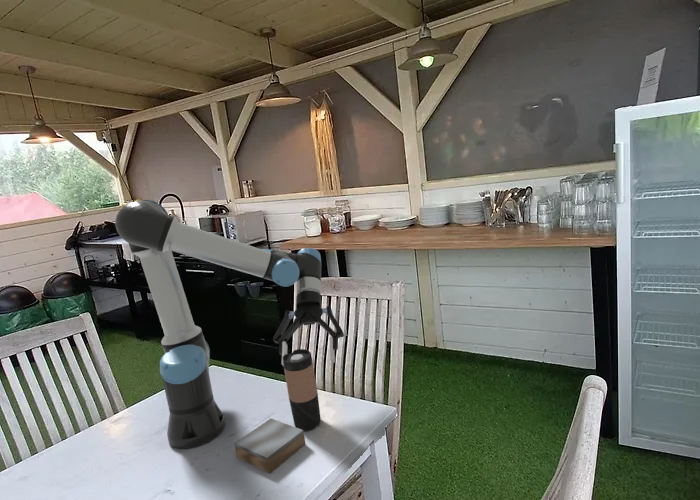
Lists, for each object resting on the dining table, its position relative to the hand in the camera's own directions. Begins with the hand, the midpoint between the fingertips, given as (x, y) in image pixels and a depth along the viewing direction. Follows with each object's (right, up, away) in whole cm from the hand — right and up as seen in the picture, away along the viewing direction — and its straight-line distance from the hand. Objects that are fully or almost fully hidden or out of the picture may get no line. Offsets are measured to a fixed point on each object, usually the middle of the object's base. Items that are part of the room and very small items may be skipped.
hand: (308, 363), depth 123 cm
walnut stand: (-8, -18, -13) cm, 24 cm away
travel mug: (0, -16, -2) cm, 16 cm away
